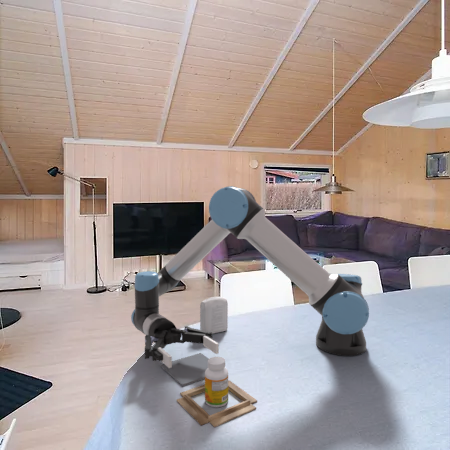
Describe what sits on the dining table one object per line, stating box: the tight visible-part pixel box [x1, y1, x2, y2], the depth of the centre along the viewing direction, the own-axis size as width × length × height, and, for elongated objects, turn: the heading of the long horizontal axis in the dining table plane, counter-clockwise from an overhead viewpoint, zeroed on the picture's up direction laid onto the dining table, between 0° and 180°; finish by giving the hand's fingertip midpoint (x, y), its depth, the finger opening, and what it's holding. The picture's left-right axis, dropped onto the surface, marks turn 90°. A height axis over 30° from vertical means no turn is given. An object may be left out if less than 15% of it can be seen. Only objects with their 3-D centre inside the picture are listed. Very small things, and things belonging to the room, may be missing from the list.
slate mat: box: [160, 352, 210, 387], centre depth 96 cm, size 13×13×1 cm
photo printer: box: [199, 296, 229, 335], centre depth 123 cm, size 10×4×12 cm, turn 123°
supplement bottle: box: [204, 356, 229, 408], centre depth 80 cm, size 5×5×10 cm
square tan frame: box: [176, 379, 258, 428], centre depth 80 cm, size 15×15×1 cm
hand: (195, 355), depth 88 cm, fingers open, 13 cm apart
